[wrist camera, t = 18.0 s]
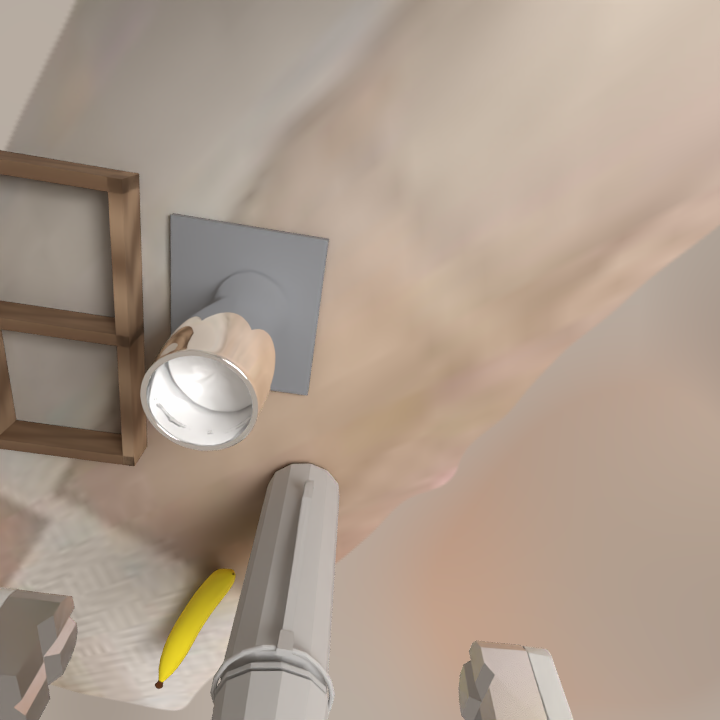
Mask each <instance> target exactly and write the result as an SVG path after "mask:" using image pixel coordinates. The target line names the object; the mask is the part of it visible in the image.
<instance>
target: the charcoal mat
mask: <svg viewBox="0 0 720 720" xmlns="http://www.w3.org/2000/svg"><path fill="white" fill-rule="evenodd" d="M328 242H329V239H327V238H320V237H314V236H308V235H302V234H296V233H290V232H284V231H278V230H272V229H265V228H259V227H253V226H247V225H241V224H235V223H229V222H223V221H217V220H210V219H204V218H198V217H192V216H186V215H180V214H174V213H173V214H171V335H172V334H173V333H174V331H175V330H176V329H177V328H178V327H179V326H180V325H181V324H182V323H183V322H184V321H185V320H187V319H188V318H189V317H191V316H192V315H193V314H195V313H196V312H198V311H200V310H201V309H203V308H205V307H206V306H208V305H210V304H212V303H213V301H214V297H215V294H216V291H217V289H218V288H219V286H220V285H221V283H222V282H223V281H224V280H226V279H227V278H228V277H230V276H232V275H234V274H237V273H241V272H256V273H260V274H263V275H265V276H267V277H269V278H271V279H272V280H274V281H275V282H276V283H277V284H278V285H279V286H280V287H281V288H282V290H283V291H284V293H285V295H286V297H287V300H288V305H289V316H288V320H287V323H286V325H285V327H284V329H283V330H282V331H281V332H280V334H279V335H278V336H277V337H276V338H277V363H276V372H275V376H274V380H273V383H272V387H271V389H270V390H273V391H280V392H287V393H294V394H301V395H308V389H309V382H310V375H311V367H312V360H313V352H314V345H315V338H316V330H317V323H318V316H319V308H320V301H321V293H322V286H323V279H324V271H325V264H326V257H327V249H328Z"/></svg>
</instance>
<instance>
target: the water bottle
mask: <svg viewBox="0 0 720 720" xmlns="http://www.w3.org/2000/svg"><path fill="white" fill-rule="evenodd" d="M338 510H339V486H338V483H337V482H336V480H335V479H334V478H333V477H332V475H331V474H330V473H329V472H328V471H327V470H326V469H323V468H320V467H318V466H315V465H313V464H310V463H303V464H291V465H289V466H287V467H285V468H283V469H281V470H279V471H277V472H275V474H274V476H273V477H272V479H271V481H270V482H269V484H268V487H267V491H266V495H265V499H264V503H263V507H262V511H261V515H260V519H259V523H258V527H257V531H256V535H255V539H254V543H253V547H252V551H251V555H250V559H249V563H248V567H247V571H246V575H245V579H244V583H243V587H242V591H241V595H240V599H239V603H238V607H237V611H236V615H235V619H234V623H233V627H232V631H231V635H230V639H229V643H228V647H227V651H226V655H225V659H224V662H223V664H222V665H221V667H220V668H219V670H218V671H217V673H216V674H215V676H214V679H213V683H212V688H211V697H212V700H213V703H214V708H213V715H212V720H328V716H329V712H330V710H331V707H332V703H333V700H334V696H335V695H334V690H333V685H332V680H331V678H330V676H329V675H328V670H329V653H330V637H331V622H332V604H333V589H334V573H335V558H336V542H337V526H338ZM219 678H221V682H220V683H219V684H218V686H217V683H218V680H219ZM327 686H328V689H329V700H328V697H327Z"/></svg>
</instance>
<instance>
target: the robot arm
mask: <svg viewBox="0 0 720 720" xmlns="http://www.w3.org/2000/svg"><path fill="white" fill-rule="evenodd" d="M74 608H75V607H74V602H73V597H72V596H65V595H57V594H49V593H41V592H33V591H25V590H19V589H11V588H2V587H0V720H39V718H40V717H41V715H42V713H43V711H44V709H45V707H46V706H47V704H48V702H49V700H50V694H49V688H48V685H49V684H51V683H52V682H53V681H55V680H56V679H57V678H59V677H60V676H61V675H63V673H64V671H65V669H66V667H67V665H68V663H69V661H70V659H71V656H72V653H73V650H74V647H75V644H76V639H77V623H76V622H75V621H74V620H73V619H72V618H71V617H70V615H71V613H72V611H73V610H74ZM469 653H470V659H471V660H470V661H469V662H467V663H466V664H464V665H463V668H462V671H461V674H460V681H459V703H460V710H461V715H462V717H463V718H464V719H465V720H573V717H572V714H571V711H570V708H569V705H568V702H567V700H566V697H565V694H564V691H563V688H562V685H561V682H560V679H559V677H558V673H557V671H556V668H555V665H554V662H553V659H552V656H551V654H550V653H549V651H548V650H547V649H545V648H539V647H528V646H521V645H516V644H505V643H493V642H484V641H475V642H474V643H472V645H471V648H470V650H469Z"/></svg>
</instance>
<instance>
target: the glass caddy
mask: <svg viewBox="0 0 720 720" xmlns="http://www.w3.org/2000/svg"><path fill="white" fill-rule="evenodd" d="M0 174H3V175H10V176H16V177H22V178H28V179H34V180H40V181H46V182H52V183H58V184H64V185H70V186H76V187H82V188H88V189H94V190H100V191H106V192H108V203H109V221H110V239H111V256H112V274H113V291H114V309H115V318H113V317H106V316H100V315H93V314H86V313H79V312H73V311H66V310H59V309H53V308H46V307H39V306H33V305H26V304H19V303H13V302H6V301H0V449H7V450H15V451H22V452H30V453H38V454H45V455H53V456H61V457H68V458H76V459H84V460H91V461H99V462H106V463H114V464H122V465H129V466H135V465H136V463H137V462H138V460H139V458H140V457H141V455H142V454H143V452H144V450H145V449H146V447H147V424H146V414H145V412H144V410H143V407H142V403H141V397H140V390H141V384H142V381H143V378H144V376H145V358H144V325H143V291H142V258H141V225H140V192H139V174H138V173H132V172H126V171H120V170H114V169H108V168H102V167H96V166H90V165H84V164H78V163H72V162H66V161H60V160H54V159H49V158H43V157H37V156H31V155H25V154H19V153H13V152H7V151H1V150H0ZM1 329H3V330H10V331H17V332H24V333H31V334H37V335H44V336H51V337H58V338H65V339H72V340H79V341H85V342H92V343H99V344H106V345H113V346H117V361H118V379H119V397H120V414H121V432H122V434H115V433H108V432H101V431H93V430H86V429H78V428H71V427H63V426H56V425H49V424H41V423H34V422H26V421H19V420H16V415H15V409H14V403H13V397H12V391H11V385H10V379H9V373H8V367H7V361H6V355H5V349H4V343H3V337H2V331H1Z"/></svg>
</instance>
